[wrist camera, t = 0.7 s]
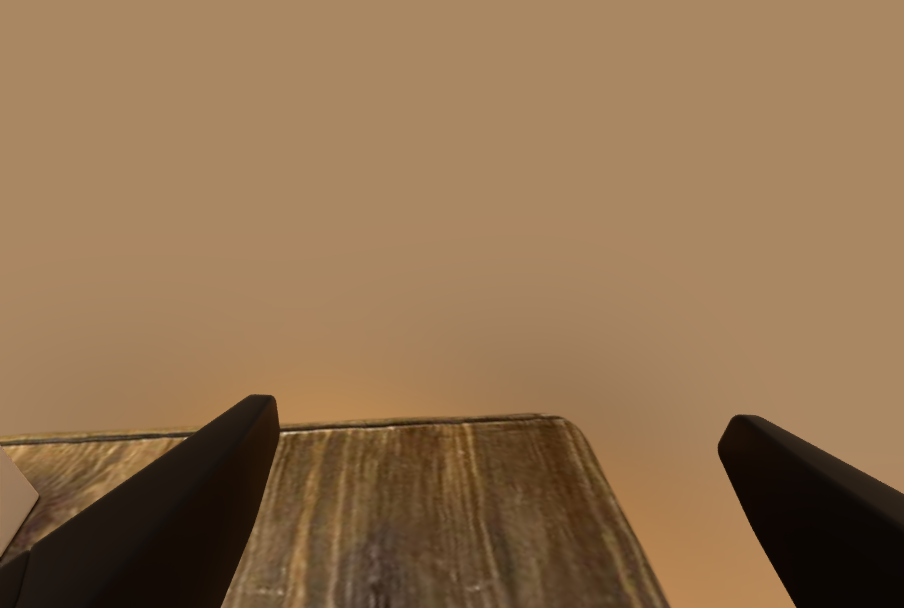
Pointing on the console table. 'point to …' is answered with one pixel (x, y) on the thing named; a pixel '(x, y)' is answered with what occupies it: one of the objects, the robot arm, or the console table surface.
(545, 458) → the console table surface
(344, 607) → the console table surface
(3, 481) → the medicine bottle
